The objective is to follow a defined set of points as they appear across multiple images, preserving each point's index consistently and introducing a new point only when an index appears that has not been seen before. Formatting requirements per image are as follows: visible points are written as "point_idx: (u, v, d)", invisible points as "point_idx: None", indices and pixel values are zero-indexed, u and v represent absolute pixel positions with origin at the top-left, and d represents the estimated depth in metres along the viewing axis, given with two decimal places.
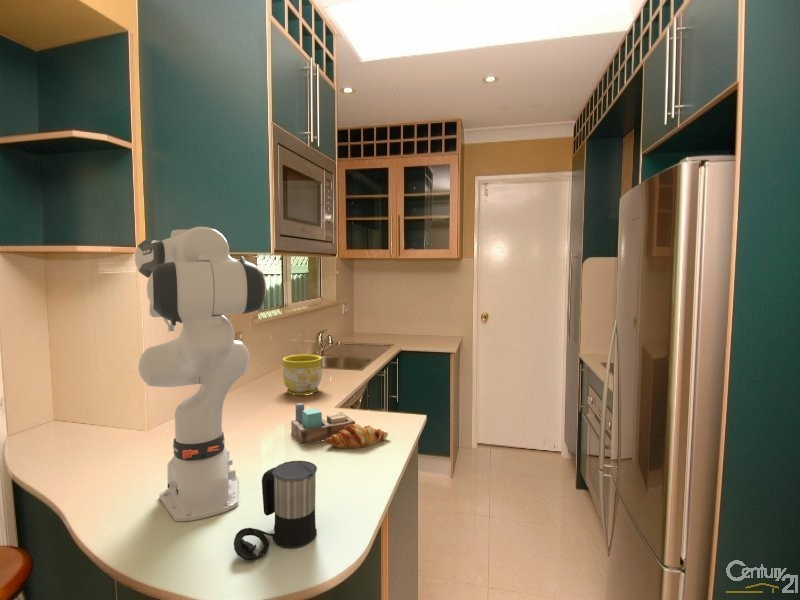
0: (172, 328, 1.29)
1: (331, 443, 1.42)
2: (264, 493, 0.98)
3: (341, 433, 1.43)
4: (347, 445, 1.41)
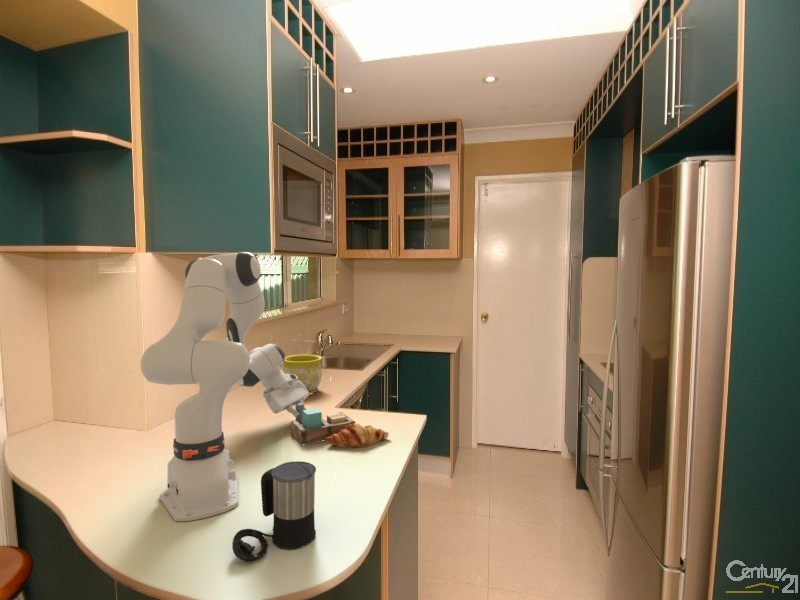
0: (298, 411, 1.60)
1: (331, 442, 1.42)
2: (263, 494, 0.97)
3: (341, 432, 1.44)
4: (347, 444, 1.42)
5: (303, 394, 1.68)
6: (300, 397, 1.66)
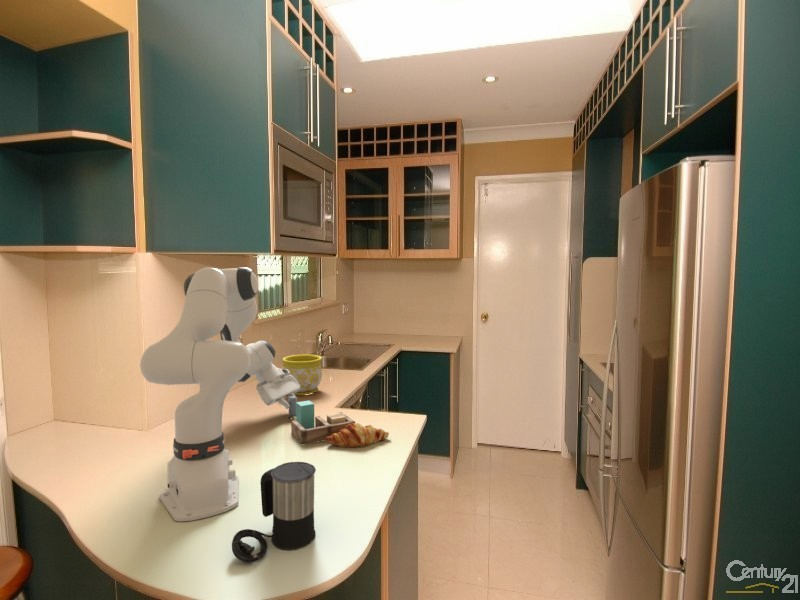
0: (289, 404, 1.69)
1: (331, 442, 1.43)
2: (263, 494, 0.97)
3: (341, 432, 1.44)
4: (347, 444, 1.42)
5: (294, 387, 1.78)
6: (291, 390, 1.75)
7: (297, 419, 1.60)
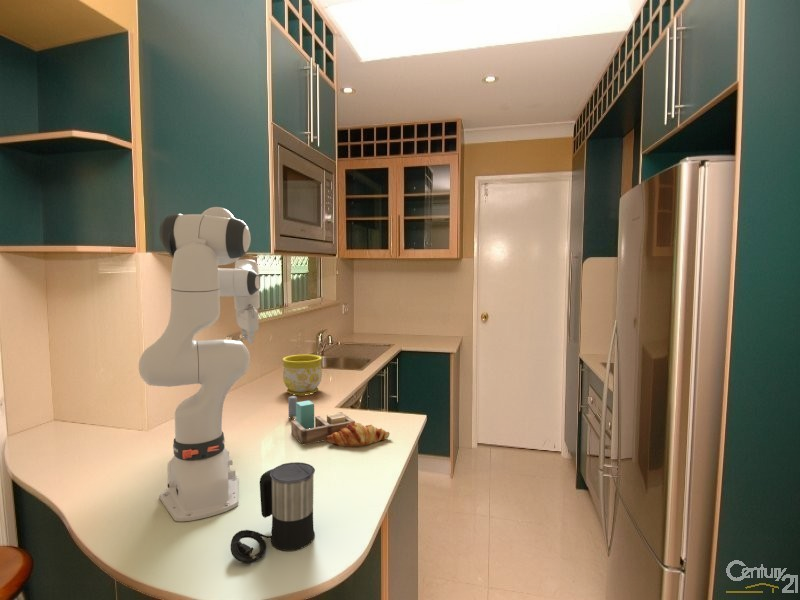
0: None
1: (332, 441, 1.44)
2: (262, 495, 0.97)
3: (342, 431, 1.45)
4: (347, 443, 1.43)
5: None
6: None
7: (297, 419, 1.60)
